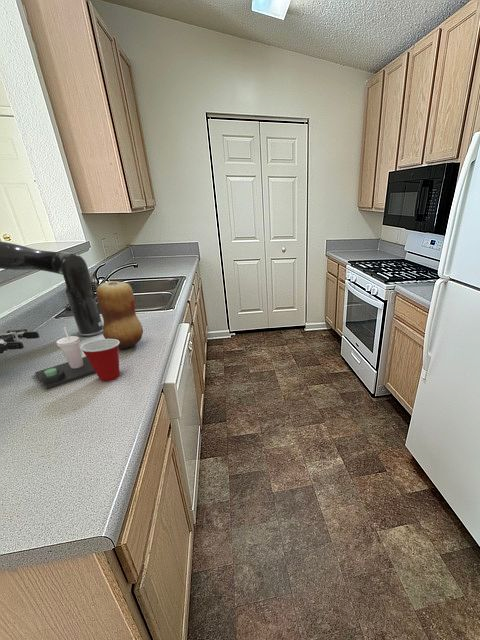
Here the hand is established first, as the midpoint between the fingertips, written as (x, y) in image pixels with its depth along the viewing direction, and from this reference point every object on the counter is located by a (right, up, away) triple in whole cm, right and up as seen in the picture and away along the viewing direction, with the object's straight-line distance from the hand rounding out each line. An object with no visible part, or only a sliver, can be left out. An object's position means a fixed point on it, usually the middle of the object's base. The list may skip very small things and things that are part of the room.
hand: (30, 339), depth 107 cm
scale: (+10, -11, +4) cm, 15 cm away
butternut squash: (+20, -1, +22) cm, 30 cm away
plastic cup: (+25, -12, +1) cm, 28 cm away
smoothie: (+11, -9, +6) cm, 15 cm away
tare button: (+9, -11, -2) cm, 14 cm away
